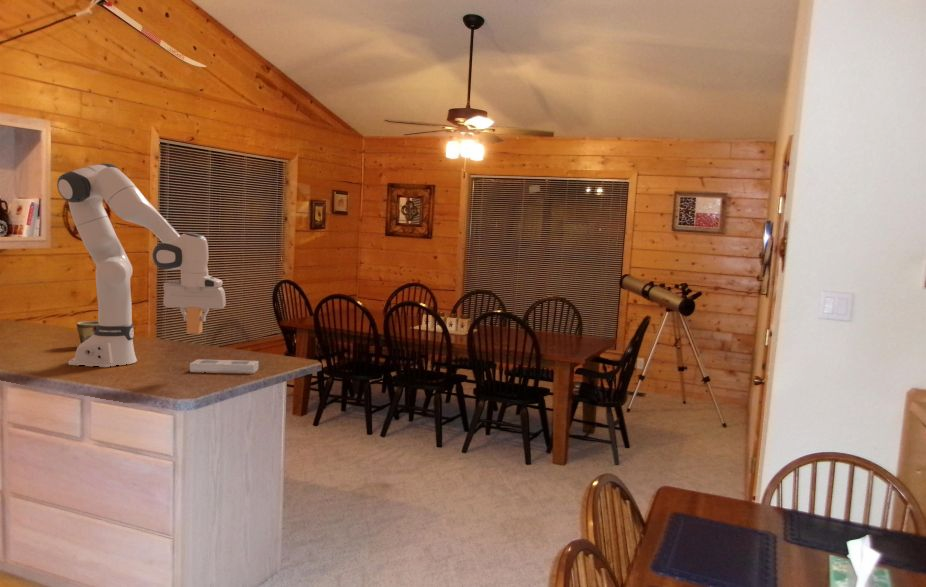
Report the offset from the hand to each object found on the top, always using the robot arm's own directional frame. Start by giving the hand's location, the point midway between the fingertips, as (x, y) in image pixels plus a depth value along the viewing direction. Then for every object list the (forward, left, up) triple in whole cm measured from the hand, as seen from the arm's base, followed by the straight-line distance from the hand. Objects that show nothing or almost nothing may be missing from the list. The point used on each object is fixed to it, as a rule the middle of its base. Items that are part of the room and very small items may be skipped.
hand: (194, 320), depth 246 cm
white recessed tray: (+8, +9, -19) cm, 22 cm away
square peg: (0, 0, -4) cm, 4 cm away
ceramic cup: (-56, +48, -19) cm, 76 cm away
